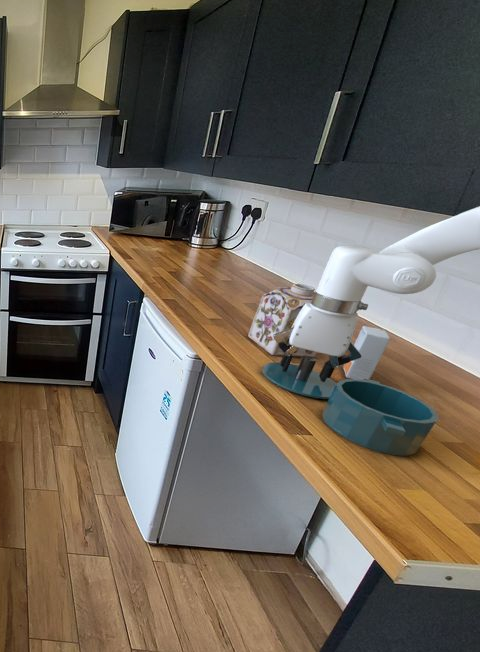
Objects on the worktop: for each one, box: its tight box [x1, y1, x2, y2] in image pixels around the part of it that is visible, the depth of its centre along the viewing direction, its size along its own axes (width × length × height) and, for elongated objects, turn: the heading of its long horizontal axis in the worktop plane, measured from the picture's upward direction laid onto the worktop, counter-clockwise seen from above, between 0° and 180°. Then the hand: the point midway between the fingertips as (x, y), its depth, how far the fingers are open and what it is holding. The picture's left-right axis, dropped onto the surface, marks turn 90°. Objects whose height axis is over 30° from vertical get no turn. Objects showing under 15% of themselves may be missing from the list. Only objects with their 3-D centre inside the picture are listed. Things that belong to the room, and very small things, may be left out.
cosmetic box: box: [342, 325, 391, 380], centre depth 96 cm, size 6×4×12 cm
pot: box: [321, 378, 440, 457], centre depth 78 cm, size 14×19×8 cm
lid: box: [261, 356, 338, 400], centre depth 93 cm, size 15×15×7 cm
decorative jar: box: [247, 283, 319, 358], centre depth 108 cm, size 12×12×18 cm
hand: (302, 373), depth 94 cm, fingers open, 6 cm apart
